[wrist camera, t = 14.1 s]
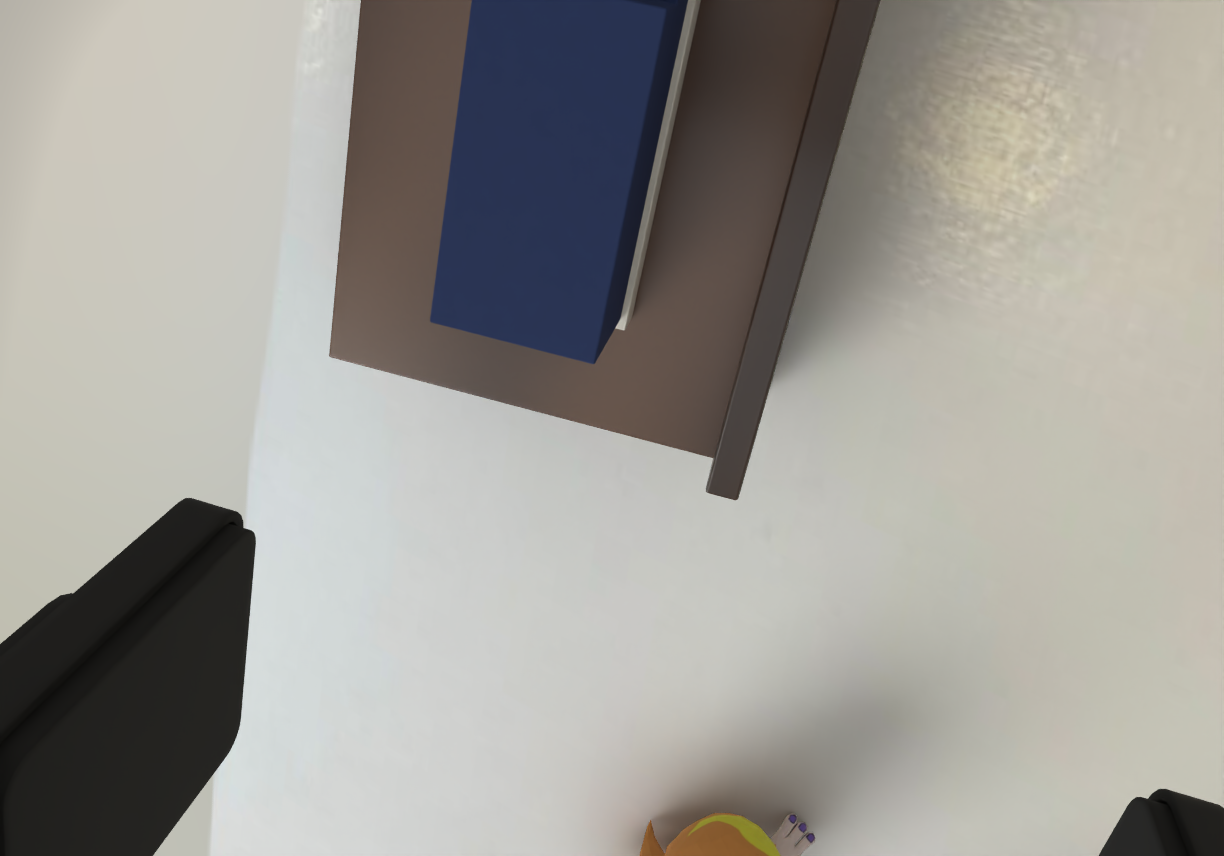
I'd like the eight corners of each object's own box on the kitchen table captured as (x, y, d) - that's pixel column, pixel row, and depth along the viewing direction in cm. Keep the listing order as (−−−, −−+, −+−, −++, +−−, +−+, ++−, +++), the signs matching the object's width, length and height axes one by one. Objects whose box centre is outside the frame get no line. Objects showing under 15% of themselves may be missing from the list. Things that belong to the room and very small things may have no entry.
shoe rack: (394, 302, 41) (296, 384, 34) (466, -322, 33) (355, -399, 25) (756, 396, 40) (737, 501, 33) (930, -226, 31) (959, -277, 24)
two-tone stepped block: (475, 279, 34) (420, 331, 29) (539, -152, 29) (484, -168, 24) (631, 318, 33) (599, 377, 29) (725, -112, 28) (703, -120, 24)
